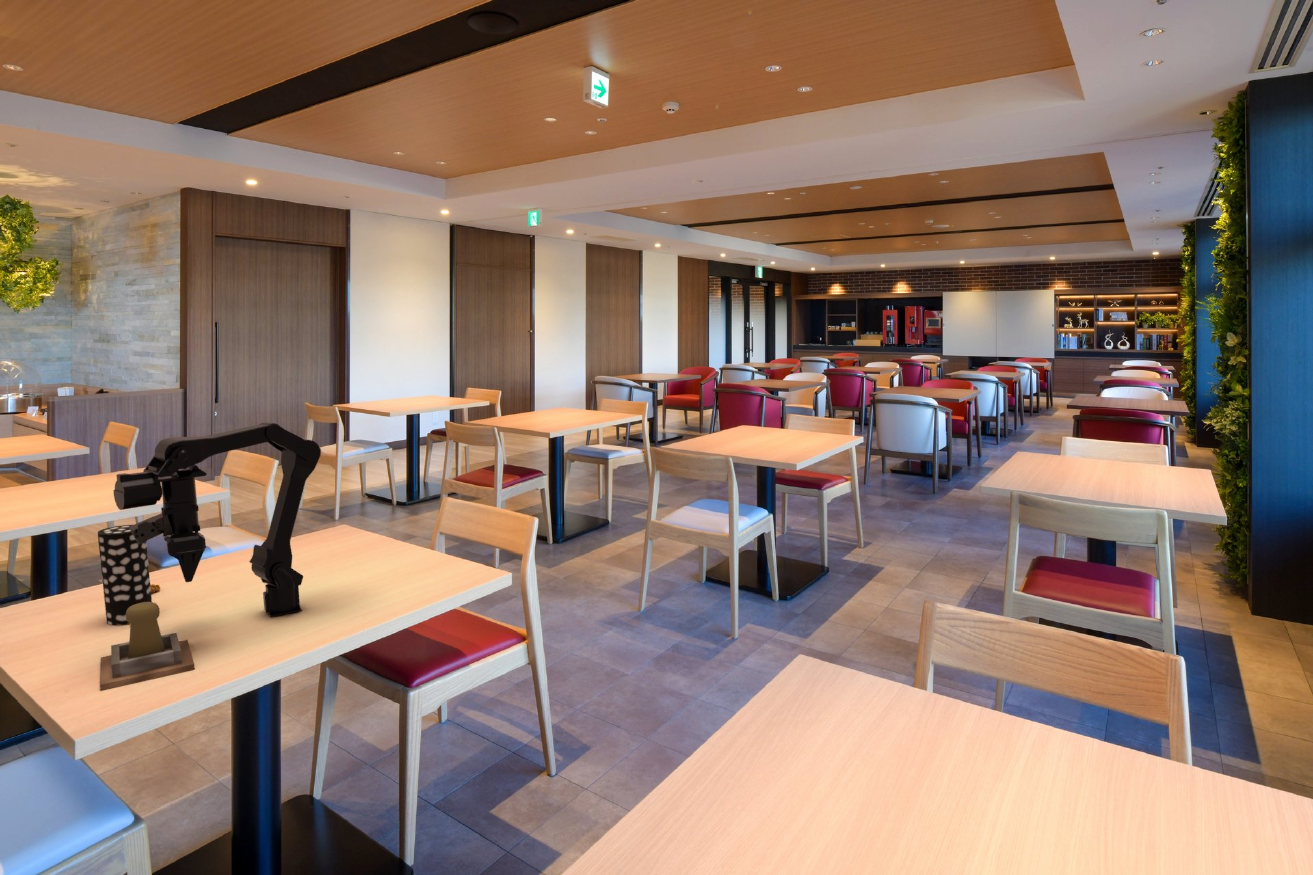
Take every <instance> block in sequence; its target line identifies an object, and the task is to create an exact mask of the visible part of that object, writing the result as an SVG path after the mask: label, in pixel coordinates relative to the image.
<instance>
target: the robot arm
mask: <svg viewBox="0 0 1313 875" xmlns="http://www.w3.org/2000/svg"><path fill="white" fill-rule="evenodd" d="M265 443H267V444H268V445H270V446H271V447H272V448H274V449H275V450H277V451H279V452H281V458H280V464H281V472H282V479H281V484H280V487H279V490H278V495H277V498H276V503H275V506H274V509H273V510H274V511H273V512H272V513H273V514H272V518H271V522H270V526H269V529H268V534H267V537H266V538H265V540H264V541H263V542H262V544H261V545H260V544H254V545H253V549H252V550H253V552H252V556H251V558H250V559H249V561H248V562H249V563H250V564H251V571H252V573H253V574H254V575H255V576H256V577H258V578H260V580H261V582H262V583H263V584H264V585H265V586H264V587H265V591H263V592H262V596H263V597H262V598H263V599H262V600H263V610H264V612H265V613H267V614H268V617H271V618H273V617H277V616H284V615H287V614H288V615H290V614H294V613H298V612H302V611H303V609H302V607H301V602H300V590H299V589H300V588H299V586H301V585H302V583H303V579H304V575H303V574H301V573H300V572H298V571H297V570H295V569H293V568H292V567H293V566H292V565H293V564H292V563H293V551H292V545H291V540H292V535H293V532H294V528H295V524H296V520H297V517H298V513H299V508H300V505H301V501H302V497H303V493H304V489H305V486H306V485H305V484H306V482H307V479H308V478H309V477H310V476H311V474H312V473H313V471H315V469H316V467H317V465H318V463H319V460H320V458H321V454H322V450H321V449H322V448H321V447H320V446H319V444H318V443H317V442H316V441H314V440H311V439H306V438H302V437H301V436H298V435H297V434H294V433H293V432H291V431H289V430H287V429H285V428H284V427H282V426H280V425H279V424H278V423H274V422H267V421H263V422H261V423H259V424H254V425H251V426H246V427H242V428H241V427H240V428H238V429H237V428H236V429H233V430H228V431H224V432H223V431H222V432H219V433H214V434H210V435H206V436H205V435H204V436H180V437H166V438H164V439H162V440H160V441H159V442H158V443H157V444H156V446H155V448H154V455H153V456H152V458H151V459H150V461H149V462H148V463H147V465H146V466H145V468H144V469H143V471H142V472H134V473H118V474H116V475H115V476H116V481H115V484H114V489H113V490H112V491H113V498H114V502H115V504H116V507H117V508H118V510H120V511H123V510H130V509H135V508H142V507H143V508H144V507H149V506H155V505H156V504H157V503H158V502H159V501H161V499H162V504H163V505H162V507H160V508H161V509H160V510H161V511H160V512H161V513H159V514H157V515H154V516H152V517H148V518H146V519H143V520H142V521H139V522H137V523H135V524H131V525H132V526H131V527H130V531H131V532H132V534H133V536H134V538H135V539H136V541H137V543H138V544H142V543H145V542H146V543H147V542H148V541H149V540H151V539H154V538H155V537H158V536H161V535H162V537H163V540H164V541H165V542H166V550H167V553H168V555H169V557H172V558H174V559H176V560H177V561H178V564H179V567H180V569H181V572H182V576H183V578H184V581H185V583H192V581H193V579H194V577H195V574H196V572H197V569H198V566H199V564H200V562H201V559H202V558H203V554H204V553H205V550H206V549H207V546H206V544H207V543H206V538H205V536H204V534H202V533H201V525H200V522H199V521H200V520H199V513H198V512H199V505H198V499H197V487H196V478H199V477H206V476H207V472H205V471H204V470H202V469H200V468H199V466H198V464H200V463H202V462H204V461H205V460H207V459H209V458H211V457H213V456H215V455H218V454H219V455H220V454H223V453H228V452H231V451H235V450H239V449H243V448H247V447H252V446H256V445H259V444H260V445H261V444H265Z"/></svg>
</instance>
